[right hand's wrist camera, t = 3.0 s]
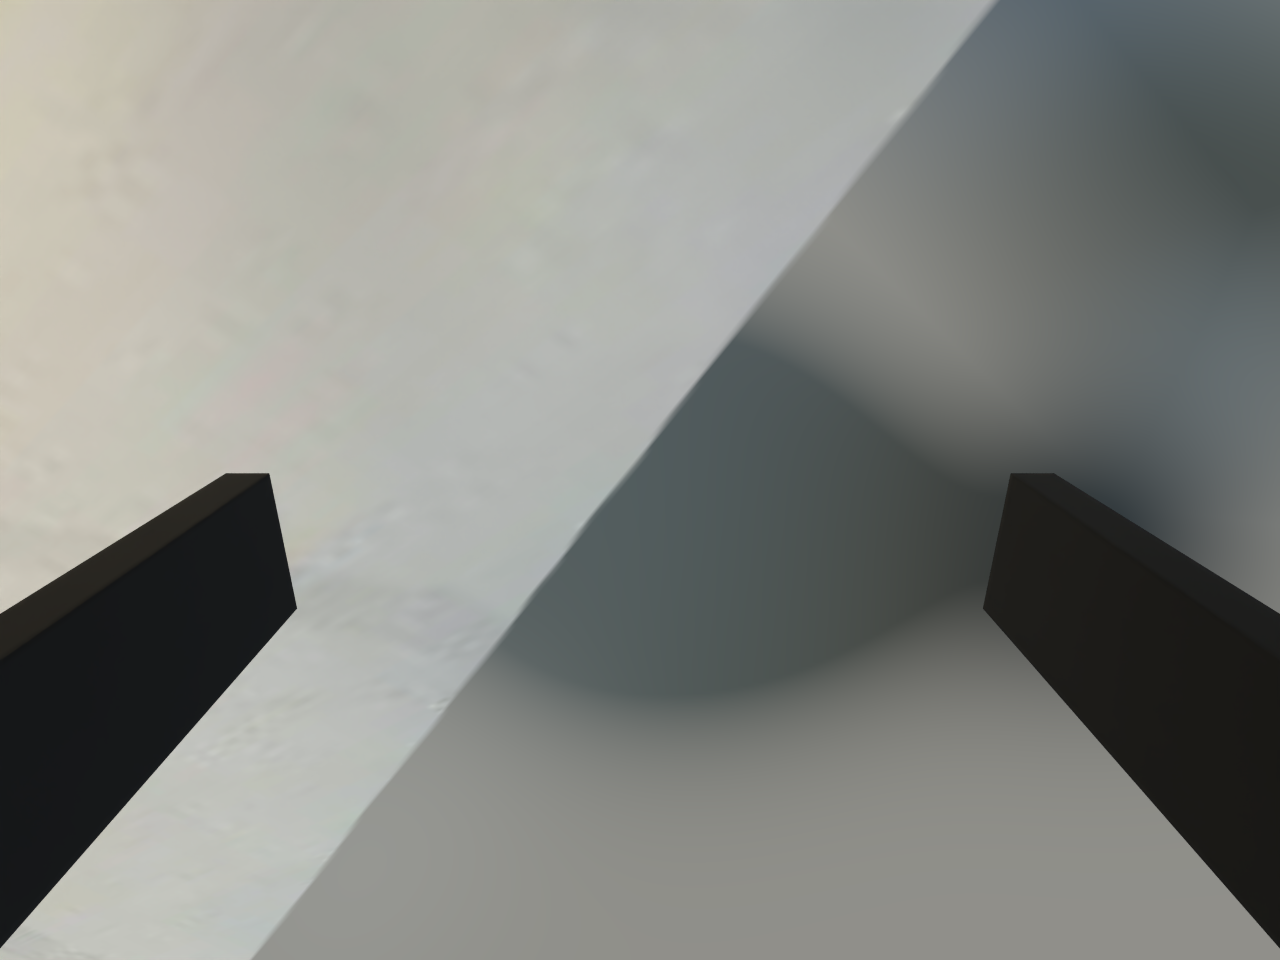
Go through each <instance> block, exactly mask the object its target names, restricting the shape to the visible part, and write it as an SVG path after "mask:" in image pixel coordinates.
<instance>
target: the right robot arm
mask: <svg viewBox="0 0 1280 960" xmlns="http://www.w3.org/2000/svg"><path fill="white" fill-rule="evenodd" d="M296 609H297V606H296V601H295V596H294V591H293V587H292V582H291V577H290V572H289V567H288V562H287V557H286V553H285V548H284V543H283V538H282V533H281V528H280V523H279V518H278V514H277V509H276V504H275V499H274V494H273V489H272V484H271V479H270V475H269V473H226V474H224V475H223V476H221V477H219V478H218V479H216V480H215V481H213V482H211V483H210V484H208V485H207V486H205V487H203V488H202V489H200V490H199V491H197V492H195V493H194V494H192V495H191V496H189V497H187V498H186V499H184V500H182V501H181V502H179V503H178V504H176V505H174V506H173V507H171V508H170V509H168V510H166V511H165V512H163V513H162V514H160V515H158V516H157V517H155V518H154V519H152V520H150V521H149V522H147V523H146V524H144V525H142V526H141V527H139V528H137V529H136V530H134V531H133V532H131V533H129V534H128V535H126V536H125V537H123V538H121V539H120V540H118V541H117V542H115V543H113V544H112V545H110V546H109V547H107V548H105V549H104V550H102V551H101V552H99V553H97V554H96V555H94V556H92V557H91V558H89V559H88V560H86V561H84V562H83V563H81V564H80V565H78V566H76V567H75V568H73V569H72V570H70V571H68V572H67V573H65V574H64V575H62V576H60V577H59V578H57V579H56V580H54V581H52V582H51V583H49V584H48V585H46V586H44V587H43V588H41V589H39V590H38V591H36V592H35V593H33V594H31V595H30V596H28V597H27V598H25V599H23V600H22V601H20V602H19V603H17V604H15V605H14V606H12V607H11V608H9V609H7V610H6V611H4V612H3V613H1V614H0V948H1V947H2V946H3V944H4V943H5V942H6V941H7V940H8V939H9V938H10V936H11V935H12V934H13V933H14V932H15V931H16V930H17V928H18V927H19V926H20V925H21V924H22V923H23V922H24V920H25V919H26V918H27V917H28V916H29V915H30V914H31V912H32V911H33V910H34V909H35V908H36V907H37V906H38V904H39V903H40V902H41V901H42V900H43V899H44V898H45V896H46V895H47V894H48V893H49V892H50V891H51V890H52V888H53V887H54V886H55V885H56V884H57V883H58V882H59V880H60V879H61V878H62V877H63V876H64V875H65V874H66V872H67V871H68V870H69V869H70V868H71V867H72V865H73V864H74V863H75V862H76V861H77V860H78V859H79V857H80V856H81V855H82V854H83V853H84V852H85V851H86V849H87V848H88V847H89V846H90V845H91V844H92V843H93V841H94V840H95V839H96V838H97V837H98V836H99V835H100V833H101V832H102V831H103V830H104V829H105V828H106V827H107V825H108V824H109V823H110V822H111V821H112V820H113V819H114V817H115V816H116V815H117V814H118V813H119V812H120V811H121V809H122V808H123V807H124V806H125V805H126V804H127V803H128V801H129V800H130V799H131V798H132V797H133V796H134V795H135V793H136V792H137V791H138V790H139V789H140V788H141V786H142V785H143V784H144V783H145V782H146V781H147V780H148V778H149V777H150V776H151V775H152V774H153V773H154V772H155V770H156V769H157V768H158V767H159V766H160V765H161V764H162V762H163V761H164V760H165V759H166V758H167V757H168V756H169V754H170V753H171V752H172V751H173V750H174V749H175V748H176V746H177V745H178V744H179V743H180V742H181V741H182V740H183V738H184V737H185V736H186V735H187V734H188V733H189V732H190V730H191V729H192V728H193V727H194V726H195V725H196V724H197V722H198V721H199V720H200V719H201V718H202V717H203V716H204V714H205V713H206V712H207V711H208V710H209V709H210V708H211V706H212V705H213V704H214V703H215V702H216V701H217V699H218V698H219V697H220V696H221V695H222V694H223V693H224V691H225V690H226V689H227V688H228V687H229V686H230V685H231V683H232V682H233V681H234V680H235V679H236V678H237V677H238V675H239V674H240V673H241V672H242V671H243V670H244V669H245V667H246V666H247V665H248V664H249V663H250V662H251V661H252V659H253V658H254V657H255V656H256V655H257V654H258V653H259V651H260V650H261V649H262V648H263V647H264V646H265V645H266V643H267V642H268V641H269V640H270V639H271V638H272V637H273V635H274V634H275V633H276V632H277V631H278V630H279V629H280V627H281V626H282V625H283V624H284V623H285V622H286V620H287V619H288V618H289V617H290V616H291V615H292V614H293V612H294V611H295V610H296ZM983 609H984V610H985V611H986V612H987V614H988V615H989V616H990V617H991V618H992V619H993V621H994V622H995V623H996V624H997V625H998V626H999V627H1000V629H1001V630H1002V631H1003V632H1004V633H1005V634H1006V635H1007V637H1008V638H1009V639H1010V640H1011V641H1012V642H1013V643H1014V645H1015V646H1016V647H1017V648H1018V649H1019V650H1020V651H1021V652H1022V654H1023V655H1024V656H1025V657H1026V658H1027V659H1028V660H1029V662H1030V663H1031V664H1032V665H1033V666H1034V667H1035V669H1036V670H1037V671H1038V672H1039V673H1040V674H1041V675H1042V677H1043V678H1044V679H1045V680H1046V681H1047V682H1048V683H1049V685H1050V686H1051V687H1052V688H1053V689H1054V690H1055V691H1056V693H1057V694H1058V695H1059V696H1060V697H1061V698H1062V699H1063V701H1064V702H1065V703H1066V704H1067V705H1068V706H1069V708H1070V709H1071V710H1072V711H1073V712H1074V713H1075V714H1076V716H1077V717H1078V718H1079V719H1080V720H1081V721H1082V722H1083V723H1084V725H1085V726H1086V727H1087V728H1088V729H1089V730H1090V731H1091V733H1092V734H1093V735H1094V736H1095V737H1096V738H1097V739H1098V741H1099V742H1100V743H1101V744H1102V745H1103V746H1104V748H1105V749H1106V750H1107V751H1108V752H1109V753H1110V754H1111V755H1112V757H1113V758H1114V759H1115V760H1116V761H1117V762H1118V764H1119V765H1120V766H1121V767H1122V768H1123V769H1124V770H1125V772H1126V773H1127V774H1128V775H1129V776H1130V777H1131V778H1132V780H1133V781H1134V782H1135V783H1136V784H1137V785H1138V786H1139V788H1140V789H1141V790H1142V791H1143V792H1144V793H1145V795H1146V796H1147V797H1148V798H1149V799H1150V800H1151V801H1152V802H1153V804H1154V805H1155V806H1156V807H1157V808H1158V809H1159V811H1160V812H1161V813H1162V814H1163V815H1164V816H1165V817H1166V819H1167V820H1168V821H1169V822H1170V823H1171V824H1172V825H1173V827H1174V828H1175V829H1176V830H1177V831H1178V832H1179V833H1180V835H1181V836H1182V837H1183V838H1184V839H1185V840H1186V841H1187V843H1188V844H1189V845H1190V846H1191V847H1192V848H1193V849H1194V851H1195V852H1196V853H1197V854H1198V855H1199V856H1200V857H1201V859H1202V860H1203V861H1204V862H1205V863H1206V864H1207V865H1208V867H1209V868H1210V869H1211V870H1212V871H1213V872H1214V874H1215V875H1216V876H1217V877H1218V878H1219V879H1220V880H1221V882H1222V883H1223V884H1224V885H1225V886H1226V887H1227V888H1228V890H1229V891H1230V892H1231V893H1232V894H1233V895H1234V896H1235V898H1236V899H1237V900H1238V901H1239V902H1240V903H1241V904H1242V906H1243V907H1244V908H1245V909H1246V910H1247V911H1248V912H1249V914H1250V915H1251V916H1252V917H1253V918H1254V919H1255V920H1256V922H1257V923H1258V924H1259V925H1260V926H1261V927H1262V928H1263V930H1264V931H1265V932H1266V933H1267V934H1268V935H1269V936H1270V938H1271V939H1272V940H1273V941H1274V942H1275V943H1276V944H1277V946H1278V947H1279V948H1280V614H1279V613H1277V612H1276V611H1274V610H1273V609H1271V608H1269V607H1268V606H1266V605H1265V604H1263V603H1261V602H1260V601H1258V600H1257V599H1255V598H1253V597H1252V596H1250V595H1248V594H1247V593H1245V592H1244V591H1242V590H1241V589H1239V588H1237V587H1236V586H1234V585H1232V584H1231V583H1229V582H1228V581H1226V580H1224V579H1223V578H1221V577H1220V576H1218V575H1216V574H1215V573H1213V572H1212V571H1210V570H1208V569H1207V568H1205V567H1204V566H1202V565H1200V564H1199V563H1197V562H1195V561H1194V560H1192V559H1191V558H1189V557H1188V556H1186V555H1184V554H1183V553H1181V552H1179V551H1178V550H1176V549H1175V548H1173V547H1171V546H1170V545H1168V544H1167V543H1165V542H1163V541H1162V540H1160V539H1159V538H1157V537H1155V536H1154V535H1152V534H1151V533H1149V532H1147V531H1146V530H1144V529H1143V528H1141V527H1139V526H1138V525H1136V524H1134V523H1133V522H1131V521H1130V520H1128V519H1126V518H1125V517H1123V516H1122V515H1120V514H1118V513H1117V512H1115V511H1114V510H1112V509H1110V508H1109V507H1107V506H1106V505H1104V504H1102V503H1101V502H1099V501H1098V500H1096V499H1094V498H1093V497H1091V496H1089V495H1088V494H1086V493H1085V492H1083V491H1081V490H1080V489H1078V488H1077V487H1075V486H1073V485H1072V484H1070V483H1069V482H1067V481H1065V480H1064V479H1062V478H1061V477H1059V476H1057V475H1056V474H1054V473H1011V475H1010V479H1009V484H1008V490H1007V494H1006V499H1005V504H1004V509H1003V514H1002V518H1001V523H1000V528H999V533H998V538H997V543H996V548H995V553H994V557H993V562H992V567H991V572H990V577H989V582H988V587H987V591H986V596H985V601H984V606H983Z"/></svg>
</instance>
